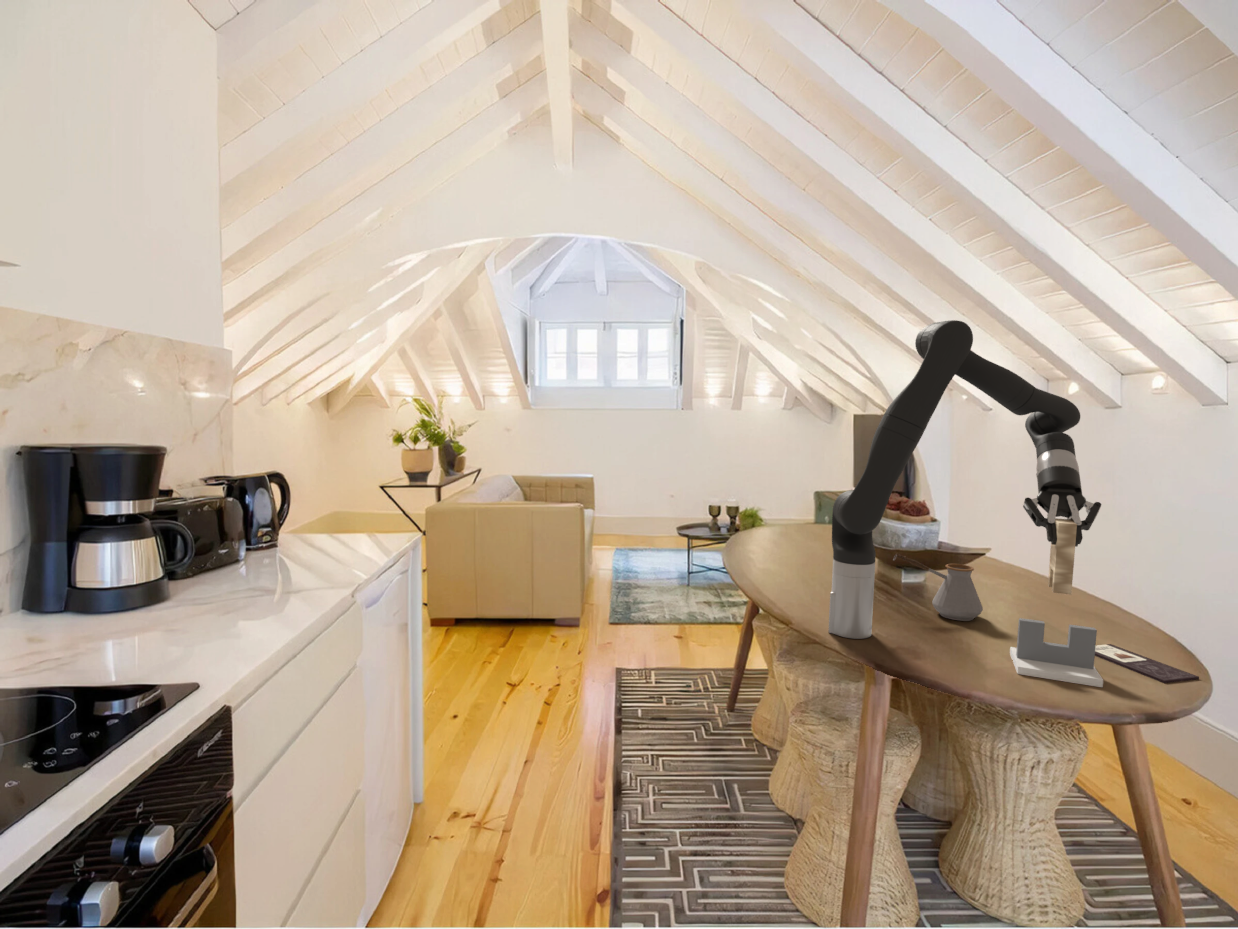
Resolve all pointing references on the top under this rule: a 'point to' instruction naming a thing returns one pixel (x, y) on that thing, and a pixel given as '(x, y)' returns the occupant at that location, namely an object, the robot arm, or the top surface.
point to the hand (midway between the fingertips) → (1065, 543)
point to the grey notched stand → (1056, 654)
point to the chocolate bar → (1142, 664)
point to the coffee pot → (954, 592)
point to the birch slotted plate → (1062, 557)
